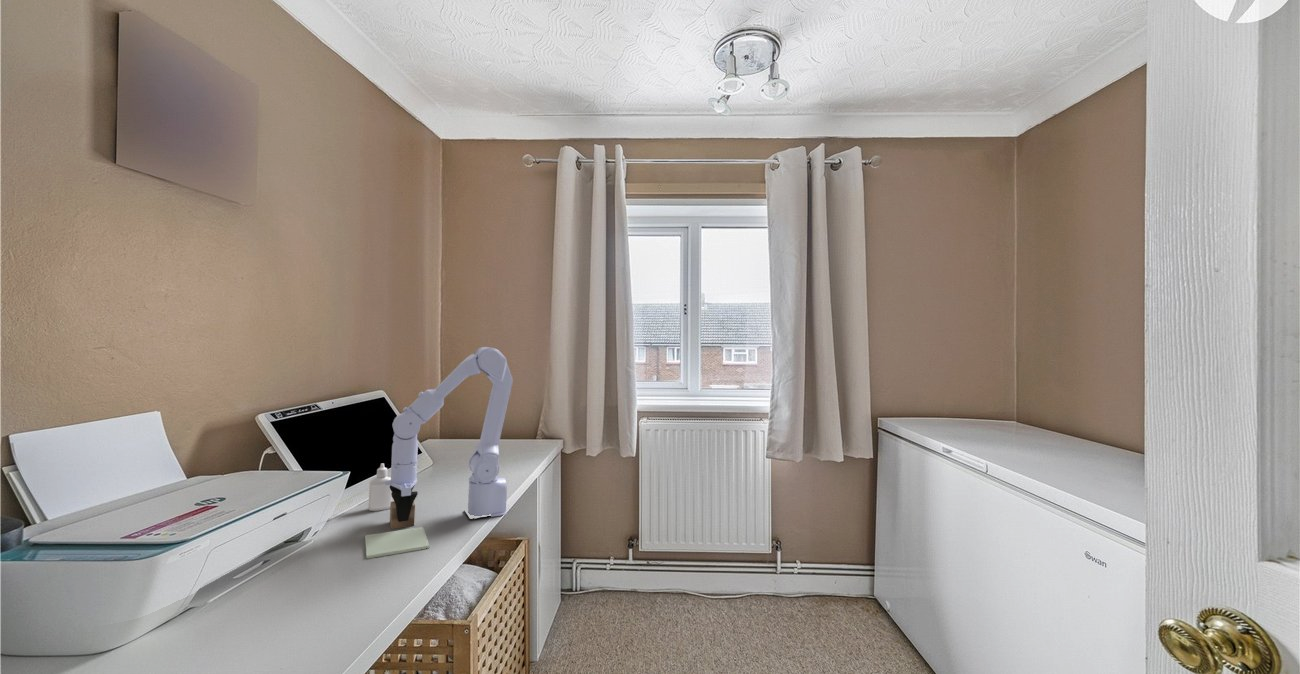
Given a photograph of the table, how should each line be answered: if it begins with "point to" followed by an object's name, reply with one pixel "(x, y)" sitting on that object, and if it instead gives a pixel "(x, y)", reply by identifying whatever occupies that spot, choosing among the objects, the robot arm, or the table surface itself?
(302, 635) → the table surface
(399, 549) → the sage board
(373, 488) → the eye dropper bottle
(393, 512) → the walnut cube
